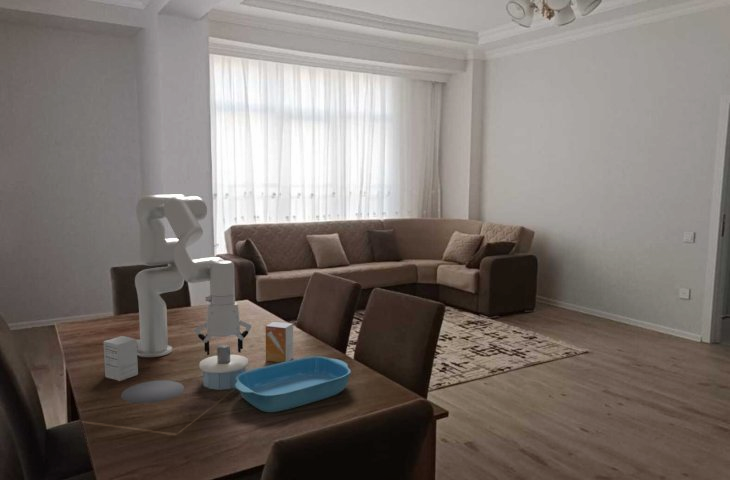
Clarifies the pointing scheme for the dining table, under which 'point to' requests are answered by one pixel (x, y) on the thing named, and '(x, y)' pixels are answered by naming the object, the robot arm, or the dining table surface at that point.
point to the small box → (279, 342)
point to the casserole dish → (293, 383)
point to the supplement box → (120, 358)
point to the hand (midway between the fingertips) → (223, 352)
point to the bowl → (221, 380)
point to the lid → (223, 361)
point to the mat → (152, 391)
